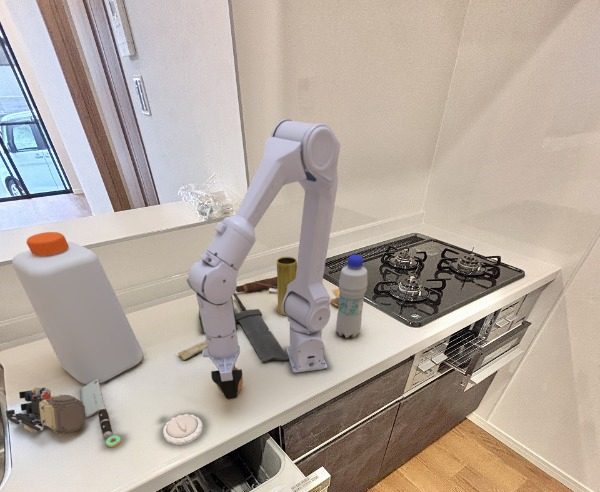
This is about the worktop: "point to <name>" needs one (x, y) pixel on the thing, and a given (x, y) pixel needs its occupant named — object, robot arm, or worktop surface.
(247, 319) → the flat dark sword
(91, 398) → the cleaver
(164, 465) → the worktop surface
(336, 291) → the shell
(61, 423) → the toy
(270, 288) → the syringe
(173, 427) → the white round disc
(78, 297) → the plastic bottle
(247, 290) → the hand tool
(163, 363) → the worktop surface
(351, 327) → the bottle
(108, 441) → the donut
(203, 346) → the snack bar
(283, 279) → the vase
